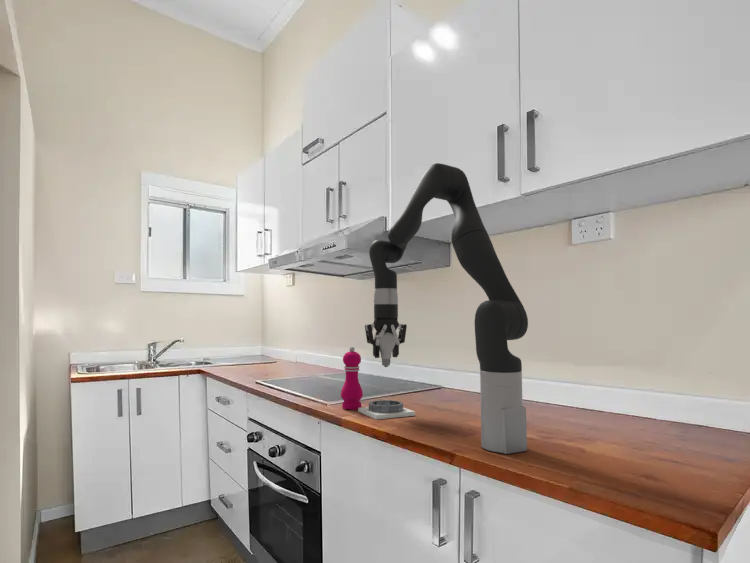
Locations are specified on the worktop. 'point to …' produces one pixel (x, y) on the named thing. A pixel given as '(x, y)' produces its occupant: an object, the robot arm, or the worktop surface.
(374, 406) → the socket collar
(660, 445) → the worktop surface
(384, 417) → the socket board
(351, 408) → the pepper mill
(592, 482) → the worktop surface
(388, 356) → the lightbulb
